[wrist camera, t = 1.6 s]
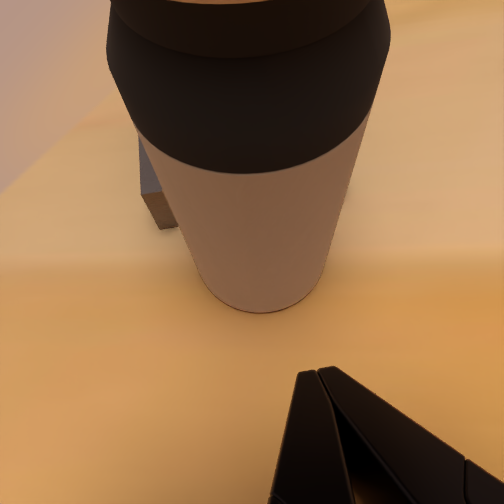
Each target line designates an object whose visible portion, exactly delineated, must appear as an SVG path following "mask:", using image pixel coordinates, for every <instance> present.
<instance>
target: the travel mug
mask: <svg viewBox="0 0 504 504" xmlns="http://www.w3.org/2000/svg"><path fill="white" fill-rule="evenodd" d="M110 1H111V8H110V17H109V25H108V34H107V45H106V53H107V61H108V65H109V69H110V71H111V73H112V76H113V78H114V80H115V83H116V85H117V87H118V90H119V92H120V94H121V96H122V99H123V101H124V103H125V105H126V108H127V110H128V112H129V114H130V117H131V119H132V121H133V123H134V126H135V128H136V130H137V132H138V135H139V137H140V139H141V142H142V144H143V146H144V148H145V151H146V153H147V155H148V157H149V160H150V162H151V164H152V166H153V169H154V171H155V173H156V175H157V178H158V180H159V182H160V184H161V187H162V189H163V191H164V194H165V196H166V198H167V200H168V203H169V205H170V207H171V209H172V212H173V214H174V216H175V218H176V221H177V223H178V225H179V227H180V230H181V232H182V234H183V236H184V239H185V241H186V243H187V245H188V248H189V250H190V252H191V255H192V257H193V259H194V261H195V264H196V266H197V268H198V270H199V273H200V275H201V277H202V279H203V281H204V283H205V284H206V286H207V287H208V289H209V290H210V291H211V292H212V293H213V294H214V295H215V296H216V297H217V298H218V299H220V300H221V301H222V302H224V303H226V304H228V305H230V306H232V307H234V308H237V309H239V310H243V311H248V312H257V313H263V312H273V311H277V310H281V309H284V308H287V307H289V306H291V305H293V304H295V303H297V302H298V301H300V300H301V299H303V298H304V297H305V296H306V295H307V294H308V293H309V292H310V291H311V290H312V289H313V288H314V286H315V285H316V284H317V282H318V280H319V278H320V276H321V274H322V271H323V268H324V265H325V261H326V258H327V255H328V251H329V248H330V245H331V241H332V238H333V235H334V231H335V228H336V225H337V221H338V218H339V215H340V211H341V208H342V205H343V201H344V198H345V195H346V191H347V188H348V185H349V181H350V178H351V175H352V171H353V168H354V165H355V161H356V158H357V155H358V151H359V148H360V145H361V141H362V138H363V135H364V131H365V128H366V125H367V121H368V118H369V115H370V111H371V108H372V105H373V101H374V98H375V95H376V91H377V88H378V85H379V81H380V78H381V75H382V71H383V68H384V64H385V61H386V58H387V54H388V51H389V46H390V38H391V30H390V24H389V19H388V15H387V11H386V7H385V3H384V0H110Z"/></svg>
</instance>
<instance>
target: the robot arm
mask: <svg viewBox="0 0 504 504" xmlns="http://www.w3.org/2000/svg"><path fill="white" fill-rule="evenodd" d="M267 504H504V483H503V482H502V481H500V480H499V479H497V478H496V477H494V476H493V475H491V474H490V473H488V472H487V471H485V470H484V469H483V468H481V467H480V466H478V465H477V464H475V463H474V462H472V461H471V460H470V459H466V461H465V456H464V455H462V454H461V453H459V452H458V451H456V450H455V449H454V448H452V447H451V446H449V445H448V444H446V443H445V442H443V441H442V440H441V439H439V438H438V437H436V436H435V435H433V434H432V433H431V432H429V431H428V430H426V429H425V428H423V427H422V426H421V425H419V424H418V423H416V422H415V421H413V420H412V419H410V418H409V417H408V416H406V415H405V414H403V413H402V412H400V411H399V410H398V409H396V408H395V407H393V406H392V405H390V404H389V403H388V402H386V401H385V400H383V399H382V398H380V397H379V396H377V395H376V394H375V393H373V392H372V391H370V390H369V389H367V388H366V387H365V386H363V385H362V384H360V383H359V382H357V381H356V380H355V379H353V378H352V377H350V376H349V375H347V374H346V373H344V372H343V371H342V370H340V369H339V368H337V367H335V366H330V367H325V368H319V369H318V370H317V371H316V370H308V371H302V372H299V373H298V374H297V378H296V382H295V387H294V391H293V395H292V400H291V404H290V408H289V413H288V417H287V421H286V426H285V430H284V435H283V439H282V443H281V448H280V452H279V456H278V461H277V465H276V469H275V474H274V478H273V483H272V487H271V491H270V497H269V499H268V503H267Z"/></svg>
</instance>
